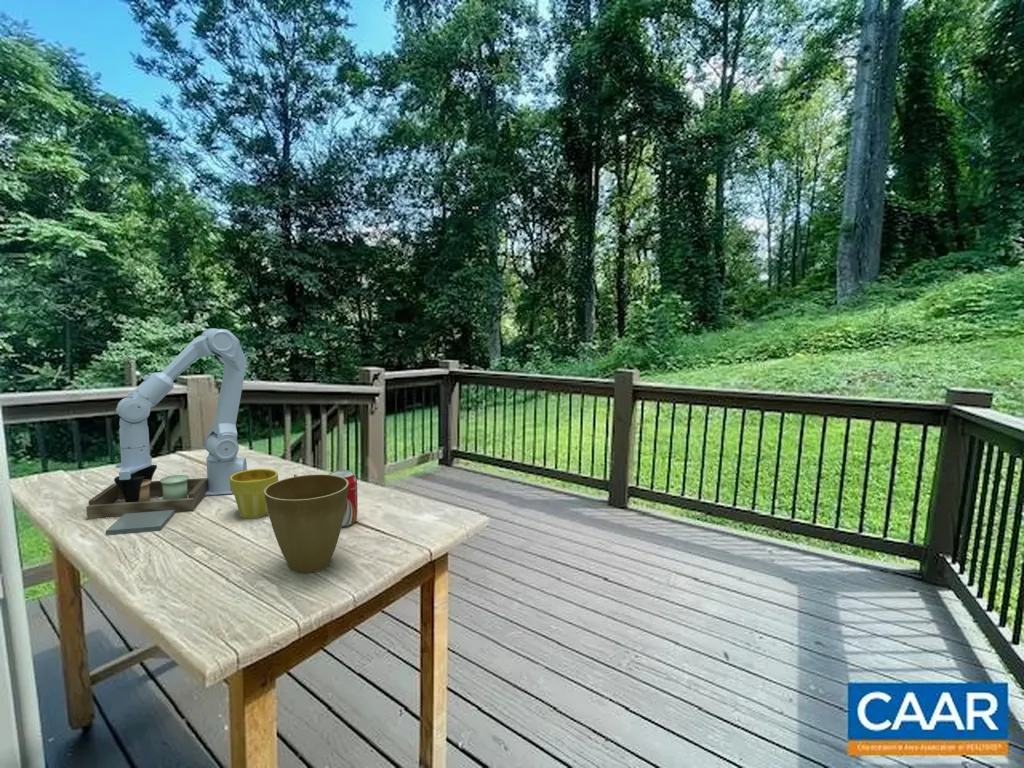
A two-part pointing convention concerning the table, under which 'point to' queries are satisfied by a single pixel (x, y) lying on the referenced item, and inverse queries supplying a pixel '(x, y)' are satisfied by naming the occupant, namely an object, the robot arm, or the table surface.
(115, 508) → the frame
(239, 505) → the plant pot
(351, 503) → the soda can
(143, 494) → the terracotta pot
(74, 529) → the table surface
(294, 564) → the plant pot
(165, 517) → the slate slab
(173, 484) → the green pot
